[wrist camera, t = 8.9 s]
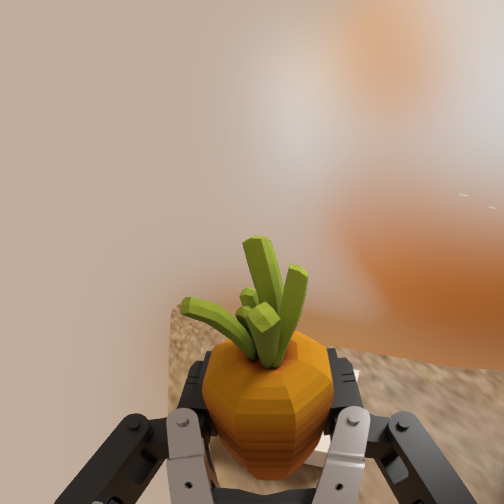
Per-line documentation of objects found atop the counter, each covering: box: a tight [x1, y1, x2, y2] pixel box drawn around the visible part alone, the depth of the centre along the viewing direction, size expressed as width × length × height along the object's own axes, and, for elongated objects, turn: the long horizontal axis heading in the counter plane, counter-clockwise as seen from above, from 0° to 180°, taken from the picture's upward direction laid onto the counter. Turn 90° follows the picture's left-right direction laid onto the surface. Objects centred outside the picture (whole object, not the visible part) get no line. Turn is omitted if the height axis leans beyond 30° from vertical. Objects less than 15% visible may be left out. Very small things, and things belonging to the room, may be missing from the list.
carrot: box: [180, 235, 334, 480], centre depth 11 cm, size 5×5×15 cm
